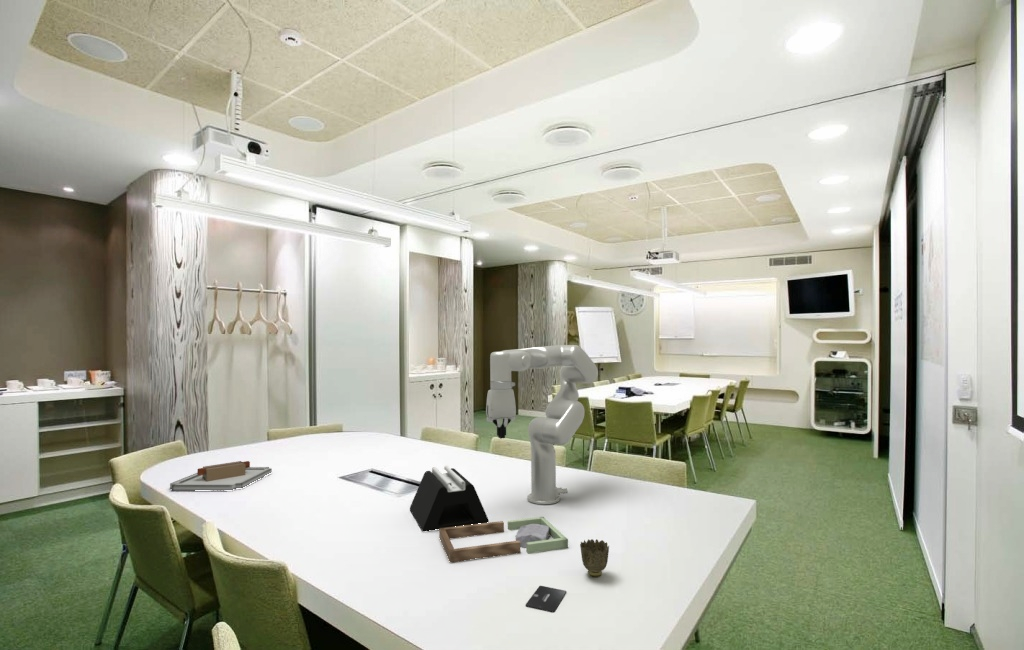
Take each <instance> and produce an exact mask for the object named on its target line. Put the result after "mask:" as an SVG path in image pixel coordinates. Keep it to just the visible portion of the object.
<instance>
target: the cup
mask: <svg viewBox="0 0 1024 650" xmlns="http://www.w3.org/2000/svg"><path fill="white" fill-rule="evenodd" d="M579 545H580V546H579V547H580V552H581V561H582V565H583V567H584V568H585V569H586V570H587V574H588V576H589V577H591V578H594V579H596V578H600V577H601V576H602V575H603V571H604V570H605V569H606V568H607V565H608V559H609V552H610V551H609V550H610V545H608V542H606V541H604V540H600V541H599V539H595V540H594V539H592V538H591V539H589V538H588V539H587V541H586V540H585V539H584V541H580V544H579Z"/></svg>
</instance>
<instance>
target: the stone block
mask: <svg viewBox="0 0 1024 650" xmlns="http://www.w3.org/2000/svg"><path fill="white" fill-rule="evenodd" d="M549 537H550V535H549V525H548V526H544V525H540V524H529V525H525V526H522V527H520V529H517V532H516V534H515V541H518V540H519V541H520V548H521V549H526V543H527V542H535V541H542V540H549Z"/></svg>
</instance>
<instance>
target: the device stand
mask: <svg viewBox="0 0 1024 650" xmlns="http://www.w3.org/2000/svg"><path fill="white" fill-rule="evenodd" d="M443 469H444V470H445V471H446V473H442V472H441V471H440V470H439V469H438V468H437V467H436V466H433V467H432V469H431V470H427V471H425V472H424V474H423V476H422V478H421V481H420V483H419V485H418V487H417V490H416V492H415V495H414V497H413V499H412V502H411V504H410V507H409V510H410V512H411V514H412V516H413V517H414V519H415V521H416V522H417V524H418V526H419V528H420V529H421V531H422V532H423V531H428V532H430V531H429V530H435V529H439V528H447V527H455V526H463V525H471V524H478V523H487V522H488V523H490V521H489V517H488V515H487V513H486V511H485V509H484V506H483V504H482V501H481V499H480V497H479V495H478V493H477V490H476V488H475V486H474V485H473V484H472V483H471V482H470V481H469V480H468V479H467V478H466V477H464V476H463V475H462V474H461V473H460V472H458V470H456V468H454V467H453V468H451V467H449V466H448V465H445V466H444V468H443ZM435 531H436V530H435Z"/></svg>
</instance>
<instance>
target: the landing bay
mask: <svg viewBox="0 0 1024 650" xmlns="http://www.w3.org/2000/svg"><path fill="white" fill-rule="evenodd" d="M529 524H540V525H544V526H548V525H549V537H551V539H550V538H549V539H548V540H542V541H535V542H527V543H526V548H525V549H526V553H527V554H534V553H539V552H540V553H541V552H542V553H543V552H547V551H555V550H556V551H557V550H562V549H563V550H564V549H568V548H569V539H568V538H567V537H566V536H565V535H564V534H563V532H561V531H560V530H558V528H556V527H555V526H554V525H553V524H552V523H551V522H550V521H549V520H547V518H545V516H537V517H528V518H522V519H513V520H512V519H511V520H507V530H508V531H512V530H515V531H516V530H519V529H520V527H522V526H525V525H529Z"/></svg>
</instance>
